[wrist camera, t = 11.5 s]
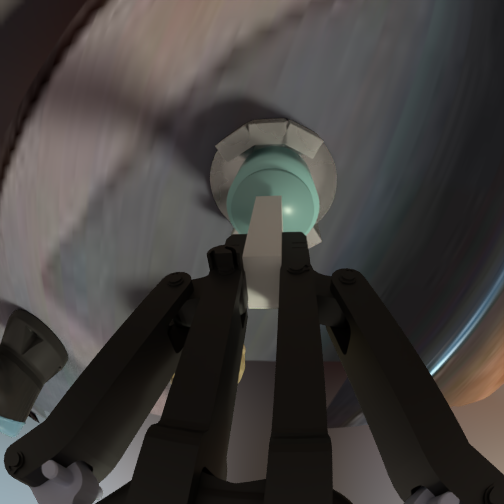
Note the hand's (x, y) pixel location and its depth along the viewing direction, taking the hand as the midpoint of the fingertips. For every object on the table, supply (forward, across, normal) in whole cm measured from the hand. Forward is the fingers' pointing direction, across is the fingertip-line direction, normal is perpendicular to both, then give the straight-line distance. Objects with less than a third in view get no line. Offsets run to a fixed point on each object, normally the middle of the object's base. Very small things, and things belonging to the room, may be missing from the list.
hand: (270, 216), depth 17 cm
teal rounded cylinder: (+7, 0, 0) cm, 7 cm away
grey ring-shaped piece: (+7, 0, 0) cm, 7 cm away
